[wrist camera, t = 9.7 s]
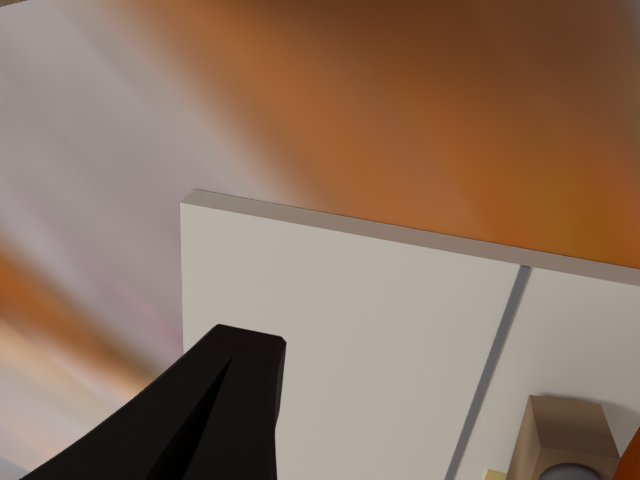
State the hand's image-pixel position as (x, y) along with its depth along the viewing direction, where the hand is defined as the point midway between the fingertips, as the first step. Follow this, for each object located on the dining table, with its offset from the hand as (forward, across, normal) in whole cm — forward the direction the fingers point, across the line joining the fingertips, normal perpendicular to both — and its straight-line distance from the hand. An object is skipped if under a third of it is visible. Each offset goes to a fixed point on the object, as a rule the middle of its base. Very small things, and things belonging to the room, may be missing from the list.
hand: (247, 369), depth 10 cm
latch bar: (+8, -10, +12) cm, 18 cm away
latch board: (+10, -4, +10) cm, 15 cm away
